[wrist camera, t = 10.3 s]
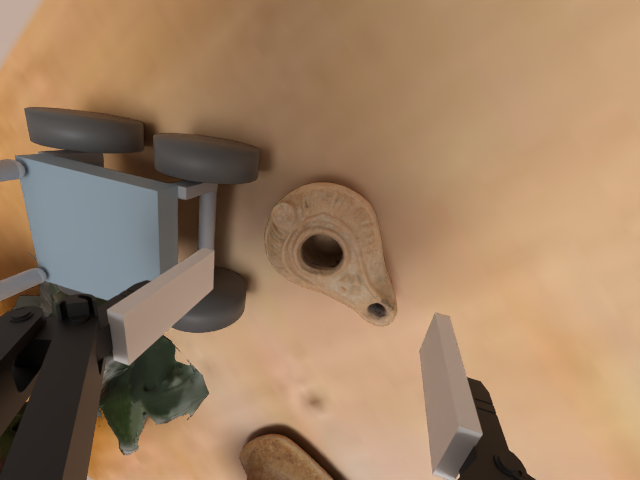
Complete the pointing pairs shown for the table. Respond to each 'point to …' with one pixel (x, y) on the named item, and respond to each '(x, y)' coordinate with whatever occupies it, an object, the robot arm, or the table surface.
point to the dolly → (122, 208)
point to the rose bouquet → (128, 384)
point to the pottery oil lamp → (332, 248)
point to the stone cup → (279, 460)
